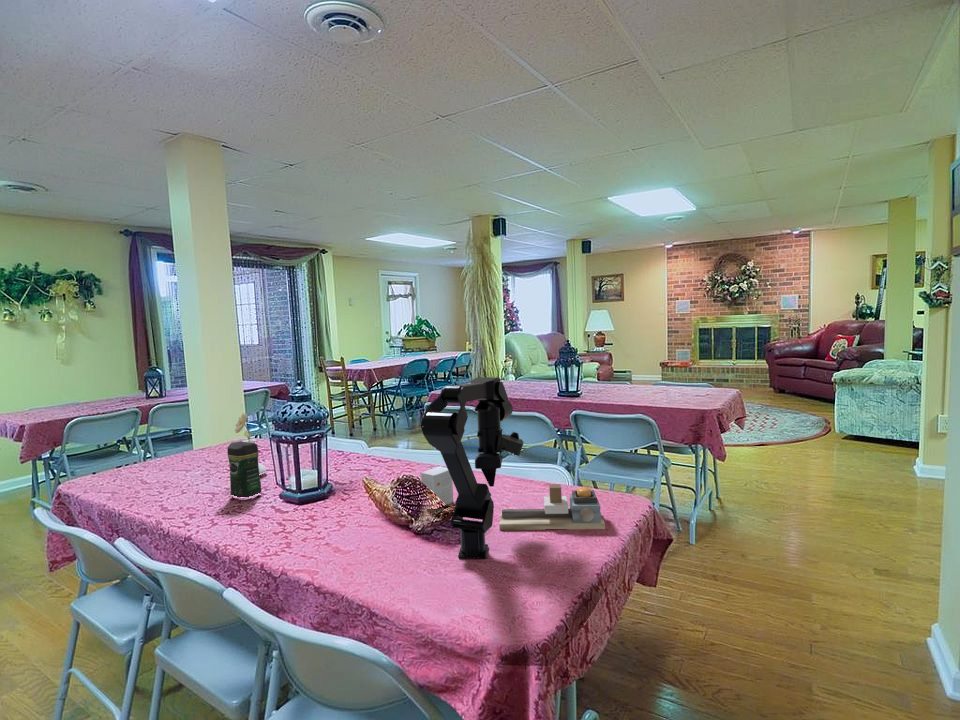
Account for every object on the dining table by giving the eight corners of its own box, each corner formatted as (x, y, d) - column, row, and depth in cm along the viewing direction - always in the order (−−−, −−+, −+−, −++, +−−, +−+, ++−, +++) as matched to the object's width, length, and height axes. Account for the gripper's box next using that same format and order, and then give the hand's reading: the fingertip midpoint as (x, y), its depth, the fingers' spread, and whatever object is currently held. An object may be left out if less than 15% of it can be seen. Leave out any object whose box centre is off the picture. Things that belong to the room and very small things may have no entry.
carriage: (568, 513, 130) (567, 490, 129) (545, 513, 130) (544, 490, 130) (566, 503, 137) (565, 481, 136) (544, 504, 137) (543, 482, 137)
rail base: (605, 529, 128) (604, 500, 127) (499, 529, 130) (498, 501, 130) (599, 514, 138) (598, 487, 137) (501, 515, 140) (500, 489, 140)
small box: (440, 499, 156) (439, 465, 155) (454, 502, 152) (452, 468, 151) (422, 506, 150) (420, 472, 149) (435, 510, 146) (433, 475, 145)
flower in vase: (237, 474, 193) (232, 410, 192) (269, 470, 197) (264, 407, 195) (231, 484, 181) (226, 416, 179) (265, 480, 184) (260, 413, 182)
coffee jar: (266, 495, 167) (262, 440, 165) (243, 503, 160) (239, 446, 159) (249, 491, 172) (245, 438, 171) (226, 498, 165) (222, 443, 164)
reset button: (592, 500, 131) (591, 491, 130) (578, 500, 131) (577, 491, 131) (590, 496, 134) (590, 487, 134) (576, 496, 135) (576, 487, 134)
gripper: (520, 433, 117) (523, 498, 118) (521, 418, 136) (523, 474, 137) (473, 434, 118) (476, 499, 119) (480, 419, 137) (482, 475, 138)
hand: (491, 486), depth 128 cm, fingers closed
